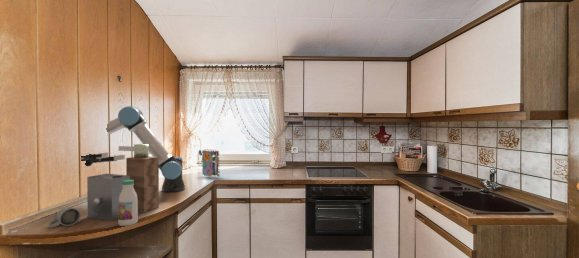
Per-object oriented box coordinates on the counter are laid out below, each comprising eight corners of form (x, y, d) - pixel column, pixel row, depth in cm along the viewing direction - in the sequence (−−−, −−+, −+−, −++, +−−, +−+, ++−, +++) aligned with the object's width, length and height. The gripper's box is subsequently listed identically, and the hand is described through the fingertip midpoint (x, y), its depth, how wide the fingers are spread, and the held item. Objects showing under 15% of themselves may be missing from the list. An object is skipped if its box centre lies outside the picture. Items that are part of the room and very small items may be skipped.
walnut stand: (141, 205, 157) (141, 156, 157) (158, 207, 154) (158, 156, 153) (126, 210, 148) (126, 157, 148) (144, 212, 144) (144, 158, 144)
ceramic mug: (74, 219, 133) (74, 203, 133) (80, 223, 128) (80, 206, 128) (46, 226, 124) (45, 209, 124) (51, 230, 120) (50, 213, 119)
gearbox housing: (106, 211, 146) (106, 172, 145) (130, 214, 141) (129, 174, 140) (83, 218, 134) (83, 176, 134) (108, 222, 129) (107, 178, 129)
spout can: (125, 155, 159) (125, 143, 159) (151, 156, 153) (151, 144, 153) (114, 156, 152) (114, 144, 152) (141, 158, 146) (141, 145, 146)
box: (195, 176, 248) (195, 149, 247) (201, 175, 253) (201, 148, 252) (214, 179, 233) (214, 150, 233) (219, 178, 238) (219, 150, 238)
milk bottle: (128, 219, 133) (128, 178, 133) (141, 221, 131) (141, 179, 130) (114, 225, 125) (114, 181, 125) (127, 227, 123) (127, 182, 123)
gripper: (99, 168, 175) (130, 163, 173) (63, 165, 150) (99, 160, 149) (99, 156, 176) (130, 151, 174) (63, 152, 152) (99, 147, 150)
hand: (116, 155), depth 162 cm, fingers open, 13 cm apart
